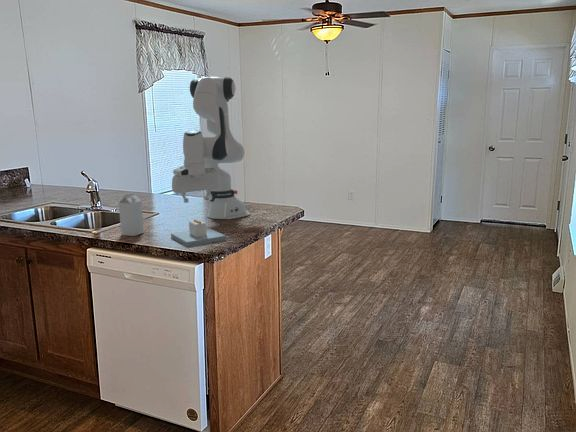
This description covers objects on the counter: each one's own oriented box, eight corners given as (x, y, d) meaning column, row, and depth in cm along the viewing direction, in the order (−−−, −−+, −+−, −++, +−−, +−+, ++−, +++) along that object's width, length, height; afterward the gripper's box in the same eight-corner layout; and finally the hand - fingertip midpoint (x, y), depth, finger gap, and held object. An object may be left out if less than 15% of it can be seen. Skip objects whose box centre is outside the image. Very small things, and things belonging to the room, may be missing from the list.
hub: (208, 232, 235) (207, 221, 234) (225, 240, 220) (225, 229, 219) (171, 237, 225) (170, 226, 224) (187, 246, 211) (186, 235, 210)
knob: (200, 232, 227) (199, 218, 225) (206, 235, 221) (206, 221, 220) (189, 233, 224) (188, 219, 223) (196, 237, 218) (195, 222, 217)
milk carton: (121, 235, 231) (117, 194, 227) (131, 231, 237) (127, 191, 233) (134, 236, 228) (130, 194, 224) (143, 232, 235) (140, 192, 231)
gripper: (213, 166, 224) (215, 197, 228) (169, 170, 214) (171, 202, 217) (220, 168, 219) (221, 199, 223) (175, 172, 208) (177, 205, 212)
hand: (196, 201), depth 220 cm, fingers open, 8 cm apart
